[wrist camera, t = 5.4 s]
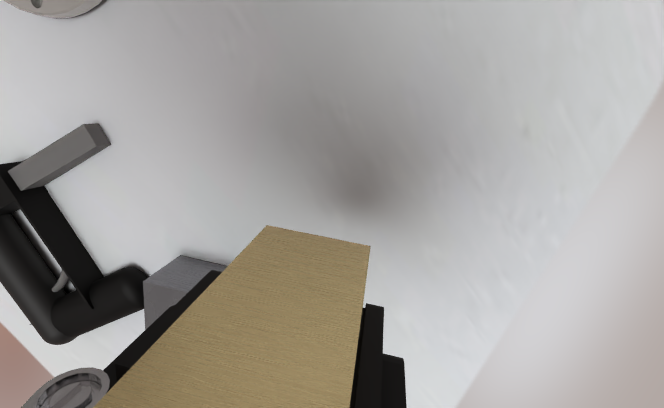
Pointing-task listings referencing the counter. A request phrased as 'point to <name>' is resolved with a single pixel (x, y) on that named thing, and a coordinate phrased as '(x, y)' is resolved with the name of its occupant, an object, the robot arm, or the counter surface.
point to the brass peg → (261, 332)
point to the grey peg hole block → (173, 284)
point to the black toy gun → (58, 248)
